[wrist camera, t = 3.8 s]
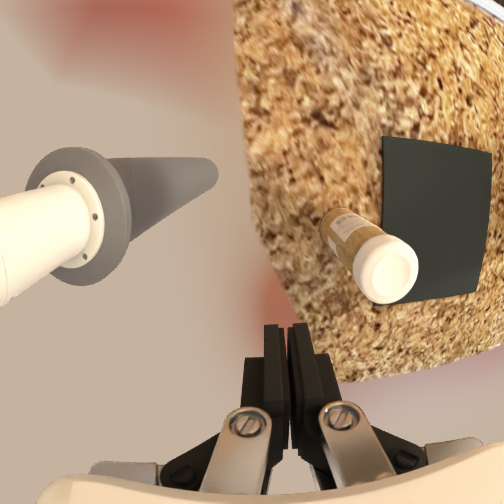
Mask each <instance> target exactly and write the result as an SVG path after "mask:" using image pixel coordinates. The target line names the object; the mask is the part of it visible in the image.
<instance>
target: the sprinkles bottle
mask: <svg viewBox="0 0 504 504" xmlns="http://www.w3.org/2000/svg"><path fill="white" fill-rule="evenodd" d="M320 231H321V235H322V238H323V240H324V241H325V242H326V243H327V244H328V245H329V246H330V248H331V249H332V250H333V252H334V253H335V254H336V255H337V257H338V258H339V259H340V260H341V261H342V263H343V264H344V265H345V266H346V267H347V268H348V270H349V271H350V272H351V273H352V275H353V277H354V280H355V282H356V284H357V286H358V287H359V289H360V290H361V291H362V292H363V294H364V295H365V296H366V297H367V298H368V299H369V300H371V301H372V302H375V303H378V304H389V303H393V302H395V301H397V300H399V299H401V298H402V297H404V296H405V295H406V294H407V293H408V292H409V291H410V289H411V288H412V286H413V285H414V283H415V281H416V278H417V274H418V260H417V256H416V254H415V252H414V251H413V249H412V248H411V247H410V246H409V245H407V244H406V243H405V242H403V241H402V240H400V239H399V238H397V237H395V236H392V235H388V234H387V233H385V232H384V231H383V230H382V229H380V228H379V227H377V226H376V225H374V224H372V223H371V222H369V221H367V220H366V219H364V218H362V217H361V216H359V215H356V214H355V213H354V212H353V211H351V210H350V209H347V208H341V207H340V208H335V209H333V210H331V211H329V212H328V213H327V214H326V215H325V216H324V217H323V220H322V222H321V225H320Z"/></svg>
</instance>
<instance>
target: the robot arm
mask: <svg viewBox="0 0 504 504" xmlns="http://www.w3.org/2000/svg"><path fill="white" fill-rule="evenodd" d="M104 224H105V221H104V213H103V209H102V205H101V202H100V199H99V197H98V194H97V193H96V191H95V189H94V188H93V186H92V185H91V184H90V183H89V182H88V180H87V179H85V178H84V177H83V176H81V175H80V174H78V173H75V172H73V171H58V172H54V173H52V174H50V175H48V176H47V177H46V178H45V179H43V180H42V181H41V183H40V184H39V186H38V187H37V189H33V190H29V191H25V192H21V193H17V194H13V195H10V196H6V197H3V198H0V308H1V307H2V306H3V305H5V304H6V303H8V302H9V301H10V300H12V299H13V298H14V297H16V296H17V295H19V294H20V293H21V292H23V291H24V290H26V289H27V288H28V287H29V286H31V285H33V284H34V283H35V282H37V281H38V280H40V279H41V278H42V277H44V276H46V275H47V274H49V273H50V272H52V271H53V270H55V269H56V268H58V267H59V266H62V267H64V268H79V267H81V266H83V265H85V264H86V263H88V262H89V261H91V260H92V259H93V258H94V257H95V255H96V254H97V252H98V251H99V249H100V246H101V244H102V241H103V236H104ZM289 421H290V425H291V440H292V449H298V456H301V458H302V459H303V460H305V461H307V462H308V463H309V464H310V470H311V473H312V476H313V479H314V483H315V486H316V489H317V492H307V493H296V494H280V495H268V491H269V485H270V480H271V475H272V467H274V466H275V465H276V464H277V463H279V462H280V461H281V460H282V458H283V449H288V437H289ZM36 504H504V442H496V443H490V444H486V445H483V443H482V442H481V441H480V440H479V439H477V438H474V437H468V438H463V439H458V440H452V441H445V442H438V443H431V444H426V445H425V446H424V447H419V446H417V445H415V444H413V443H411V442H408V441H406V440H404V439H401V438H399V437H397V436H394V435H392V434H389V433H387V432H385V431H382V430H381V429H378V428H376V427H374V426H372V425H370V423H369V421H368V420H367V418H366V416H365V414H364V412H363V411H362V409H361V408H360V407H359V406H357V405H356V404H354V403H352V402H348V401H342V398H341V395H340V391H339V387H338V384H337V380H336V377H335V373H334V370H333V367H332V363H331V360H330V357H329V354H328V353H326V354H314V350H313V345H312V341H311V337H310V333H309V329H308V325H307V323H295V324H293V327H288V339H287V356H286V346H285V337H284V328H278V324H276V325H275V324H274V325H264V357H253V358H245V362H244V373H243V384H242V395H241V406H240V408H238V409H236V410H234V411H232V412H231V413H230V414H229V415H227V417H226V419H225V421H224V423H223V426H222V429H221V432H220V433H218V434H217V435H215V436H213V437H211V438H210V439H208V440H206V441H205V442H203V443H201V444H200V445H198V446H196V447H195V448H193V449H191V450H189V451H188V452H186V453H184V454H182V455H180V456H178V457H177V458H175V459H173V460H171V461H169V462H168V463H167V464H165V465H157V464H156V463H137V462H133V463H132V462H114V461H101V462H98V463H96V464H94V465H93V466H92V467H91V468H90V471H89V473H88V474H79V475H78V474H77V475H68V476H63V477H60V478H57V479H55V480H54V481H52V482H51V483H50V484H49V485H48V486H47V488H46V489H45V490H44V492H43V493H42V494H41V496H40V497H39V499H38V501H37V503H36Z"/></svg>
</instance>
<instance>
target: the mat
mask: <svg viewBox="0 0 504 504" xmlns="http://www.w3.org/2000/svg"><path fill="white" fill-rule="evenodd" d="M382 154H383V200H382V225H381V229H382V230H383V231H384V232H385V233H387V234H388V235H392V236H395V237H397V238H399V239H400V240H402V241H403V242H405V243H406V244H407V245H409V246H410V247H411V248H412V249H413V251H414V252H415V254H416V256H417V260H418V274H417V278H416V281H415V283H414V285H413V286H412V288H411V289H410V291H409V292H408V293H407V294H406V295H405V296H404V297H402V298H401V299H399V300H397V301H395V302H393V303H389V304H378V303H375V302H374V304H373V305H374V306H383V305H391V304H399V303H407V302H415V301H422V300H429V299H436V298H442V297H449V296H455V295H461V294H466V293H472V292H476V289H477V285H478V281H479V276H480V272H481V267H482V262H483V256H484V251H485V244H486V238H487V230H488V222H489V213H490V201H491V181H492V154H491V153H487V152H483V151H479V150H474V149H469V148H464V147H459V146H453V145H448V144H442V143H435V142H429V141H422V140H414V139H406V138H397V137H387V136H382Z"/></svg>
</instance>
